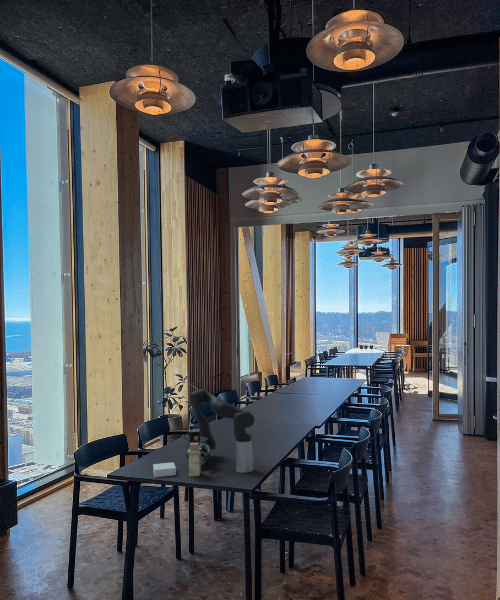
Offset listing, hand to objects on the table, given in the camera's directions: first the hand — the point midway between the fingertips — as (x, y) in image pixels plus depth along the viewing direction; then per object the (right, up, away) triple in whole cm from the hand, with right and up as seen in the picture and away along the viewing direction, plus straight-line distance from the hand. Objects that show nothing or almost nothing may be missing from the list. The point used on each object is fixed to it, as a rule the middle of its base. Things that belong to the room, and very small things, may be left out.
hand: (196, 458), depth 284 cm
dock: (-18, -8, -2) cm, 20 cm away
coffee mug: (-9, -11, +63) cm, 65 cm away
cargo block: (-1, +7, -5) cm, 9 cm away
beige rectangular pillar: (0, -7, -6) cm, 9 cm away
